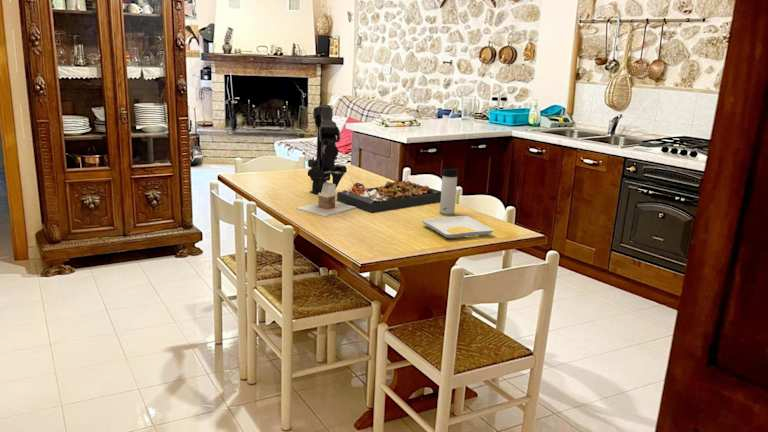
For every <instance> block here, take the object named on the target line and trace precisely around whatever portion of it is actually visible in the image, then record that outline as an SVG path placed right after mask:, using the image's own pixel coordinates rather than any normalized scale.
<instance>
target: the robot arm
mask: <svg viewBox="0 0 768 432" xmlns="http://www.w3.org/2000/svg"><path fill="white" fill-rule="evenodd" d="M333 110H334V109H333V107H331V105H330V104H320V105H318V106H317V107H314V108H313V111H312V119H314V120H313V121H314V123H315V124H314V125H316V127H317V128H316V129H317V130H316V132H317V133H316V158H315V159H314V158H313V159H312V158H310V159H308V160H307V166H308V168H310V169H308V171H307V176H308V177H309V178H310V181H312V184H311V185H312V187H311V188H312V189H311V190H310V191H309V192H310V193H313V194H316V195H319V193H321V191H322V187H323V183H326V182H329V181H331V177H332V184H336V188H338V185H339V184H340V181H341V180H342V179H343V177H344V175H345V174H347V169H348V168H347V167H346V165H343V164H336V163H335V162H336V160H338V155H339V149H338V147H337V146H336V143H340V140H341V133H340V128H339V127H338V126H337V122H335V121H334V120H333V116H334V111H333Z"/></svg>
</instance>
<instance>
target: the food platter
mask: <svg viewBox="0 0 768 432" xmlns="http://www.w3.org/2000/svg"><path fill="white" fill-rule="evenodd" d="M350 179H351V178H350ZM351 182H352V184H353V185H352V186H349V187H350V188H348V190H345V189H344V190H342V191H338V192H336V202H338V203H342V204H346V205H350V206H354V207H356V208H355V209H359V210H361V211H364V212H367V213H369V214H373V213H381V212H387V210H388V211H394V210H399V209H400V208H401V209H406V207H407V208H411V207H412V206H413V207H417V206H425V204H426V205H430V204H431V203H432V204H437V203H436V202H438V203H440V201H441V190H438V189H434V188H431V187H429V185H421V184H419V183H415V182H412V181H410V180H407V181H406V180H403V181H399V180H394V181H393V182H392V181H386V183H385V185H381V186H375V187H369V188H367V187H365V186H366V185H364V184H363V183H360V182H355V183H354V181H353V179H351ZM413 207H412V208H413Z"/></svg>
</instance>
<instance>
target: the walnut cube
mask: <svg viewBox="0 0 768 432" xmlns="http://www.w3.org/2000/svg"><path fill="white" fill-rule="evenodd" d="M335 202H336V195H335V196H332V197H328V198H327V197H323V196H319V195H318V202H317V203H318V207H320V208H324V209H330V208H334V207H335Z"/></svg>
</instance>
